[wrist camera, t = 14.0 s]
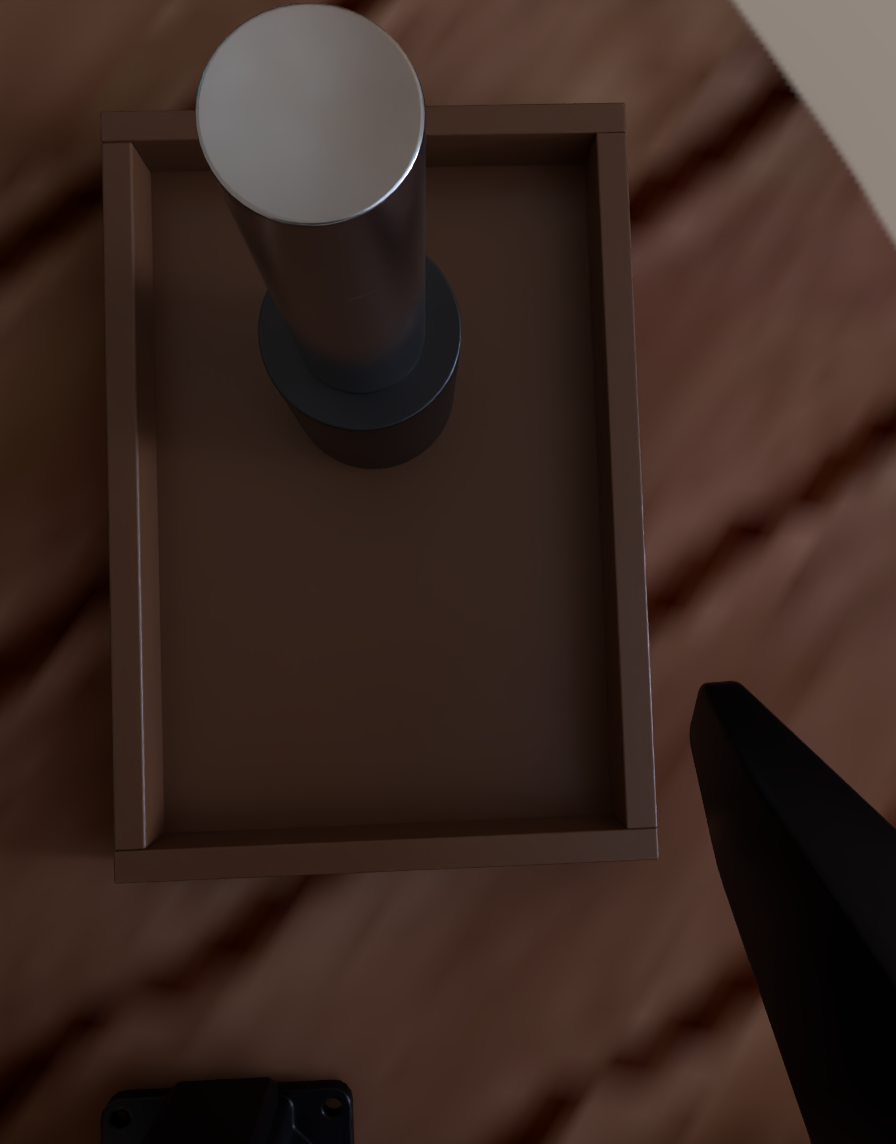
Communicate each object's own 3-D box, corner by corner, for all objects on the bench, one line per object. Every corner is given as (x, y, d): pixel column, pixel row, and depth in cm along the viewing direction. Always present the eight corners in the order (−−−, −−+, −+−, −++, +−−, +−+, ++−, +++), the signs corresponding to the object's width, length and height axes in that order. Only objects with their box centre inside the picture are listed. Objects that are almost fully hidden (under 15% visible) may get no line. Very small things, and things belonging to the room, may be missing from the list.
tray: (639, 838, 23) (659, 860, 21) (140, 860, 23) (113, 884, 21) (608, 143, 24) (625, 101, 22) (126, 152, 24) (99, 111, 22)
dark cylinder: (456, 467, 23) (498, 286, 10) (295, 471, 23) (130, 295, 10) (451, 308, 23) (484, -65, 10) (291, 312, 23) (123, -62, 10)
